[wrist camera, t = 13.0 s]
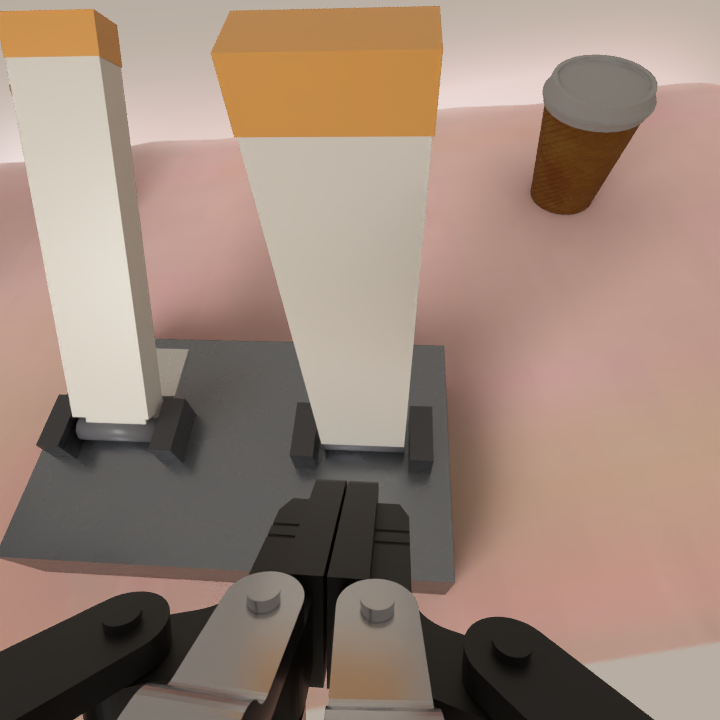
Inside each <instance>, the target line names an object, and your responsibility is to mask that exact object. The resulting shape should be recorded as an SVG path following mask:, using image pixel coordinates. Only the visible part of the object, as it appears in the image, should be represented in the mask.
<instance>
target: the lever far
mask: <svg viewBox="0 0 720 720" xmlns="http://www.w3.org/2000/svg"><path fill="white" fill-rule="evenodd" d="M0 41H1V46H2V51H3V56H4V58H5V59H6V64H7V69H8V74H9V80H10V85H11V91H12V96H13V101H14V106H15V112H16V117H17V123H18V128H19V133H20V139H21V144H22V149H23V155H24V160H25V166H26V171H27V176H28V182H29V187H30V192H31V198H32V203H33V209H34V214H35V219H36V225H37V230H38V235H39V241H40V246H41V251H42V257H43V262H44V267H45V273H46V278H47V283H48V289H49V294H50V299H51V305H52V310H53V316H54V321H55V326H56V332H57V337H58V342H59V348H60V353H61V358H62V364H63V369H64V374H65V380H66V385H67V390H68V396H69V401H70V407H71V412H72V417H80V419H79V420H78V422H77V425H76V434H77V437H78V438H79V439H81V440H104V441H130V442H150V441H151V438H152V435H153V432H154V429H155V426H156V422H157V419H158V418H153V416H154V415H155V414H156V413H157V412H158V411H160V410H161V407H162V403H163V400H162V392H161V384H160V376H159V368H158V360H157V352H156V344H155V336H154V328H153V320H152V312H151V304H150V296H149V288H148V280H147V272H146V265H145V257H144V249H143V241H142V233H141V225H140V217H139V209H138V201H137V193H136V185H135V177H134V169H133V161H132V153H131V145H130V137H129V129H128V121H127V113H126V105H125V97H124V89H123V81H122V74H121V68H122V62H121V55H120V46H119V38H118V30H117V25H116V24H115V23H113V22H112V21H110V20H109V19H107V18H106V17H104V16H103V15H101V14H100V13H98V12H97V11H95V10H94V9H76V10H33V11H0Z"/></svg>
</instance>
